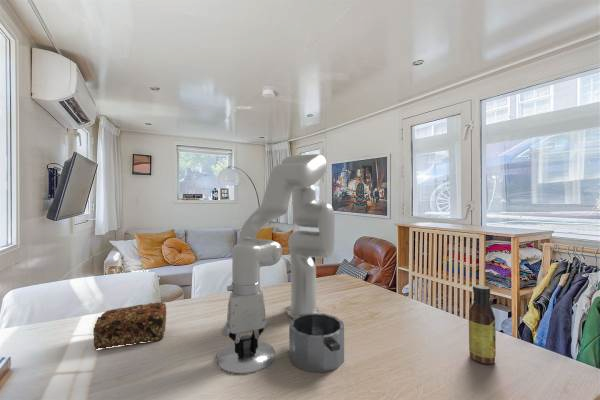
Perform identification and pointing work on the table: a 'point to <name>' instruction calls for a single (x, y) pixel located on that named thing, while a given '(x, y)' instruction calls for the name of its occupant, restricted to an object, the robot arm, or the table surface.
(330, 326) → the pot
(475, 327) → the sauce bottle
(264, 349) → the lid
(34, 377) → the table surface
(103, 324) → the bread
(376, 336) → the table surface
